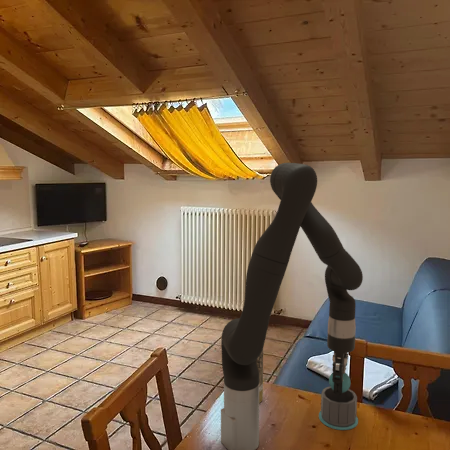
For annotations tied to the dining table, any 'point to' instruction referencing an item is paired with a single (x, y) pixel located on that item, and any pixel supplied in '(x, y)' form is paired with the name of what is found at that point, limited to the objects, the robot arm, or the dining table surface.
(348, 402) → the grey ribbed round container
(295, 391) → the dining table surface
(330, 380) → the ball
